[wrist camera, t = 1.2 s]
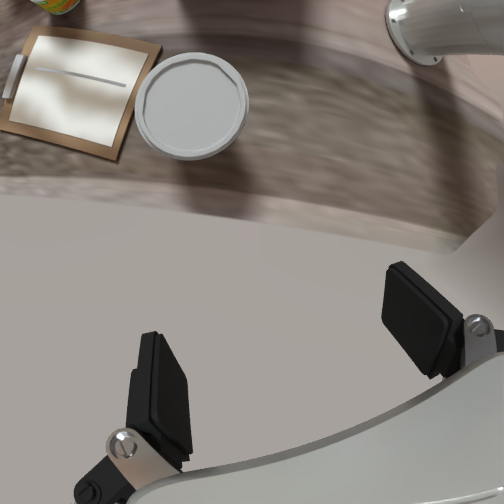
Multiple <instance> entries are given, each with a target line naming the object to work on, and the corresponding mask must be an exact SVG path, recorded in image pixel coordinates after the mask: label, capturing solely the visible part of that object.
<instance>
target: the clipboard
mask: <svg viewBox="0 0 504 504" xmlns="http://www.w3.org/2000/svg"><path fill="white" fill-rule="evenodd" d="M161 49H162V46H161V45H157V44H153V43H150V42H146V41H142V40H137V39H133V38H128V37H124V36H119V35H114V34H108V33H103V32H97V31H90V30H83V29H75V28H65V27H54V26H35V25H34V26H33V28H32V30H31V32H30V34H29V37H28V39H27V41H26V43H25V46H24V48H23V50H22V53H21V55H16V58H15V60H14V63H13V66H12V68H11V71H10V74H9V77H8V80H7V83H6V86H5V89H4V93H3V96H2V97H3V98H6V99H5V102H4V106H3V110H2V114H1V118H0V130H5V131H9V132H13V133H17V134H21V135H25V136H29V137H33V138H37V139H41V140H44V141H48V142H52V143H56V144H59V145H63V146H66V147H70V148H74V149H77V150H81V151H84V152H88V153H91V154H94V155H98V156H101V157H104V158H108V159H111V160H114V161H116V160H117V157H118V154H119V151H120V148H121V145H122V142H123V139H124V136H125V133H126V130H127V127H128V125H129V122H130V119H131V117H132V114H133V111H134V109H135V101H136V96H137V93H138V90H139V88H140V86H141V84H142V82H143V80H144V79H145V77H146V76H147V75H148V74H149V72H150V71H151V69H152V67H153V65H154V63H155V61H156V59H157V56H158V54H159V52H160V50H161Z"/></svg>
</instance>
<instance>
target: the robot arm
mask: <svg viewBox="0 0 504 504" xmlns="http://www.w3.org/2000/svg"><path fill="white" fill-rule="evenodd" d="M385 15H386V23H387V27H388V30H389V33H390V35H391V37H392V39H393V41H394V42H395V44H396V45H397V47H398V48H399V49H400V50H401V52H402V53H403V54H404V55H405V56H406V57H408V58H409V59H410V60H412V61H413V62H415V63H417V64H420V65H424V66H430V65H435V64H437V63H439V62H440V61H441V59H442V58H443V56H444V55H468V54H479V55H484V54H485V55H504V0H391V1H390V2H389V3H388V5H387V8H386V13H385ZM462 317H463V314H462V313H461V312H460V311H459V310H458V309H457V308H455V307H454V306H453V305H452V304H451V303H450V302H449V301H448V300H447V299H446V298H445V297H443V296H442V295H441V294H440V293H439V292H438V291H437V290H436V289H435V288H433V287H432V286H431V285H430V284H429V283H428V282H427V281H425V280H424V279H423V278H422V277H421V276H420V275H419V274H417V273H416V272H415V271H414V270H413V269H411V268H410V267H409V266H408V265H407V264H406V263H404V262H403V261H400V262H397V263H394V264H391V265H390V266H389V269H388V270H387V271H386V280H385V290H384V299H383V308H382V316H381V318H382V322H383V324H384V325H385V326H386V328H387V329H388V330H389V331H390V332H391V334H392V335H393V336H394V338H395V339H396V340H397V341H398V343H399V344H400V345H401V346H402V348H403V349H404V350H405V352H406V353H407V354H408V356H409V357H410V358H411V359H412V361H413V362H414V363H415V365H416V366H417V367H418V368H419V370H420V371H421V373H423V374H424V375H427V376H428V378H429V379H432V378H434V377H435V376H437V375H439V373H440V374H441V375H442V376H443V379H442V382H440V383H439V384H437V385H435V386H433V387H432V388H430V389H428V390H427V391H425V392H423V393H422V394H420V395H418V396H416V397H414V398H413V399H411V400H409V401H407V402H405V403H403V404H401V405H399V406H397V407H395V408H393V409H391V410H389V411H387V412H385V413H383V414H381V415H379V416H377V417H375V418H373V419H370V420H368V421H366V422H364V423H361V424H359V425H356V426H354V427H352V428H349V429H347V430H344V431H342V432H339V433H337V434H334V435H331V436H328V437H326V438H323V439H320V440H317V441H315V442H312V443H308V444H305V445H302V446H299V447H296V448H292V449H289V450H286V451H282V452H278V453H275V454H271V455H267V456H263V457H259V458H255V459H250V460H246V461H242V462H237V463H232V464H227V465H222V466H216V467H210V468H205V469H200V470H194V471H188V472H183V471H182V470H181V468H182V462H185V461H190V459H189V454H192V453H193V447H192V437H191V426H190V413H189V400H188V384H187V379H186V376H185V374H184V372H183V371H182V369H181V367H180V365H179V364H178V362H177V360H176V358H175V356H174V355H173V353H172V351H171V349H170V347H169V345H168V343H167V341H166V339H165V338H164V336H163V334H158V333H157V332H156V331H154V332H149V333H145V334H142V336H141V343H140V350H139V357H138V366H137V369H133V371H132V373H131V379H130V387H129V396H128V406H127V417H126V428H121V429H118V430H116V431H114V432H113V433H112V434H111V435H110V436H109V438H108V440H107V442H106V452H107V454H108V455H107V456H106V457H105V458H103V459H102V460H101V461H100V462H99V463H98V464H97V465H96V466H95V467H94V468H93V469H92V470H91V471H89V472H88V473H87V474H86V475H85V476H84V477H83V478H82V479H81V480H80V481H79V482H78V483H77V484H76V486H75V488H74V498H75V503H74V504H504V331H503V330H496V329H494V327H493V324H492V322H491V321H490V320H489V319H488V318H487V317H485V316H483V315H479V314H473V315H470V316H468V317H467V318H466V319H465V320H464V319H463V318H462Z"/></svg>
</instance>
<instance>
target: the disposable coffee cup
mask: <svg viewBox="0 0 504 504" xmlns="http://www.w3.org/2000/svg"><path fill="white" fill-rule="evenodd" d="M248 109H249V98H248V91H247V88H246V86H245V83H244V81H243V79H242V77H241V76H240V74H239V73H238V72H237V71H236V70H235V68H234V67H232V66H231V65H230V64H229V63H227V62H226V61H224V60H223V59H221V58H219V57H216V56H214V55H210V54H206V53H192V52H191V53H184V54H179V55H176V56H174V57H171V58H168V59H166V60H165V61H163V62H161V63H160V64H158V65H157V66H156V67H155V68H154V69H153V70H151V71H150V72H149V74H148V75H147V76H146V77H145V79H144V80H143V82H142V84H141V86H140V88H139V90H138V93H137V96H136V101H135V118H136V123H137V126H138V129H139V131H140V133H141V135H142V136H143V138H144V139H145V141H146V142H147V143H148V144H149V145H150V146H151V147H152V148H153V149H155V150H156V151H158V152H159V153H161V154H163V155H165V156H168V157H170V158H173V159H178V160H187V161H191V160H200V159H204V158H208V157H211V156H213V155H215V154H217V153H219V152H221V151H223V150H224V149H225V148H226V147H228V146H229V145H230V144H231V143H232V142H233V141H234V140H235V139H236V138H237V137H238V135H239V134H240V132H241V130H242V129H243V127H244V125H245V122H246V119H247V116H248Z"/></svg>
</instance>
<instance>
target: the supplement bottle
mask: <svg viewBox="0 0 504 504" xmlns="http://www.w3.org/2000/svg"><path fill="white" fill-rule="evenodd" d="M30 1H32V2H34V3H35V4H37V5H39V6H40V7H42V8H44V9H45V10H47V11H48V12H50V13H52V14H54V15H61V14H64V13H66V12H68V11H70V10H71V9H73V8H74V7H75V6H76V5H77V4H78V3H79V2H80V0H30Z"/></svg>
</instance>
